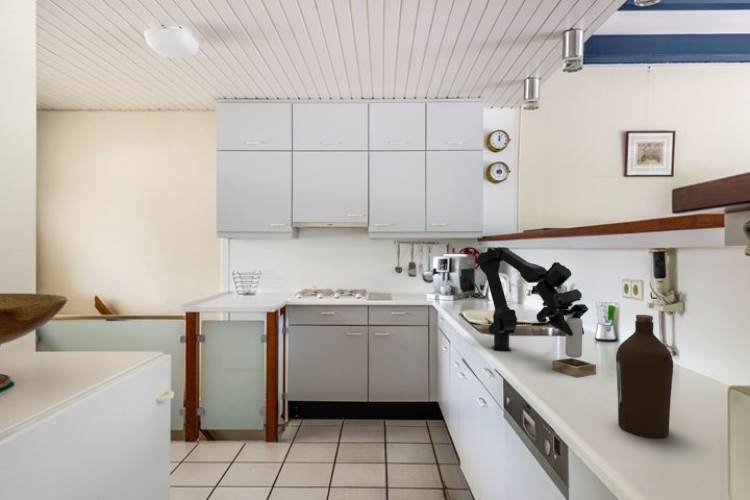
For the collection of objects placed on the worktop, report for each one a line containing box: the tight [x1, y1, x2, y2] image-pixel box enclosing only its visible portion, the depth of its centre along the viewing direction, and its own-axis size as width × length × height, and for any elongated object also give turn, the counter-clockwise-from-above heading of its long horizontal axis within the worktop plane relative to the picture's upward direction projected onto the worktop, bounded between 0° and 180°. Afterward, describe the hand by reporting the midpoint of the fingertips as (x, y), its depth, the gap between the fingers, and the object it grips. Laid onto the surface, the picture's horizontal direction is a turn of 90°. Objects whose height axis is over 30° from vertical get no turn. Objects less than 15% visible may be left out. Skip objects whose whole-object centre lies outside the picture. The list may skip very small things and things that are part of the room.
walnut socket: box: [551, 357, 597, 378], centre depth 136 cm, size 9×9×3 cm
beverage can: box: [564, 317, 584, 359], centre depth 136 cm, size 5×5×12 cm
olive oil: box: [615, 314, 674, 439], centre depth 93 cm, size 11×11×25 cm
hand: (577, 334), depth 134 cm, fingers closed on beverage can, 5 cm apart
